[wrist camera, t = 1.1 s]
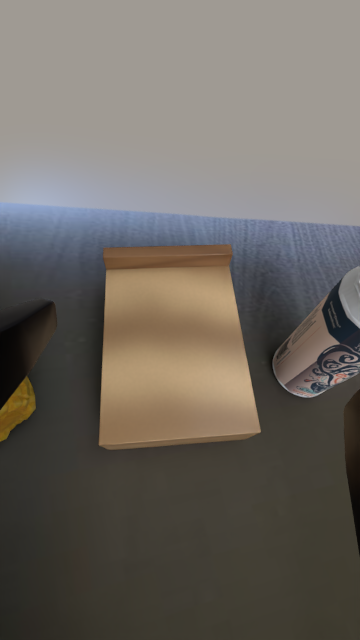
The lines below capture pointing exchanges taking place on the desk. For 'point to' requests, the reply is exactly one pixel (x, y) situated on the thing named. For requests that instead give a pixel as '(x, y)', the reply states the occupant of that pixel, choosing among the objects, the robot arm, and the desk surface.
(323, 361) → the drink can
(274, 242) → the desk surface
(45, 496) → the desk surface
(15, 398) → the food
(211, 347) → the small wooden stand
